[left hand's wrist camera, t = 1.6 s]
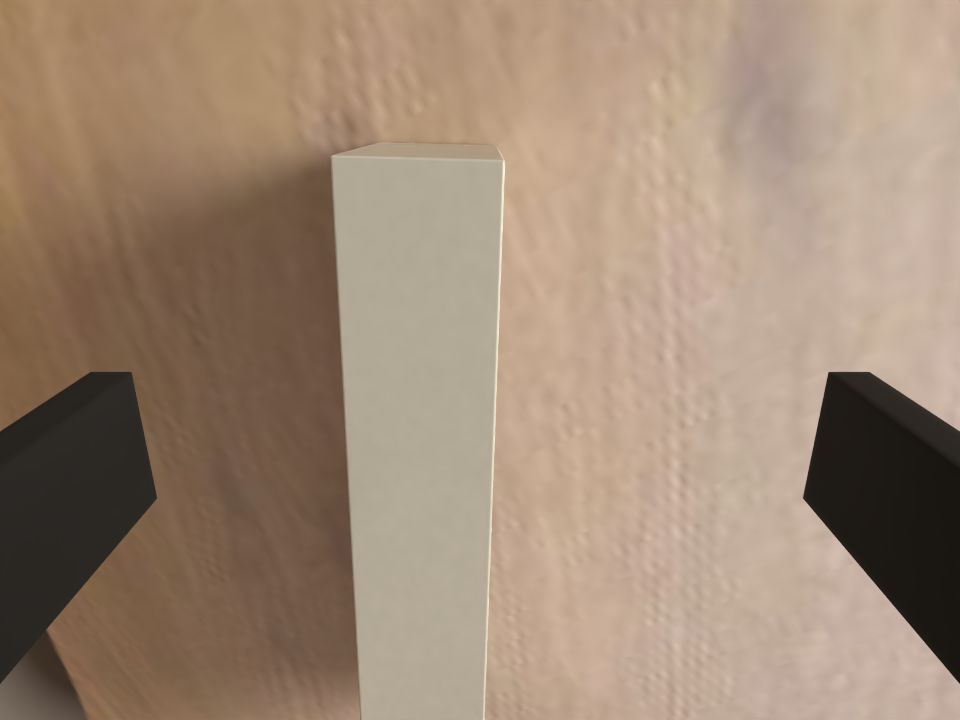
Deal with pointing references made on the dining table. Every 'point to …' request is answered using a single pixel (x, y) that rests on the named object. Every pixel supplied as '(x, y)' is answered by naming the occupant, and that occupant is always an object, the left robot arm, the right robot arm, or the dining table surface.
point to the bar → (419, 416)
